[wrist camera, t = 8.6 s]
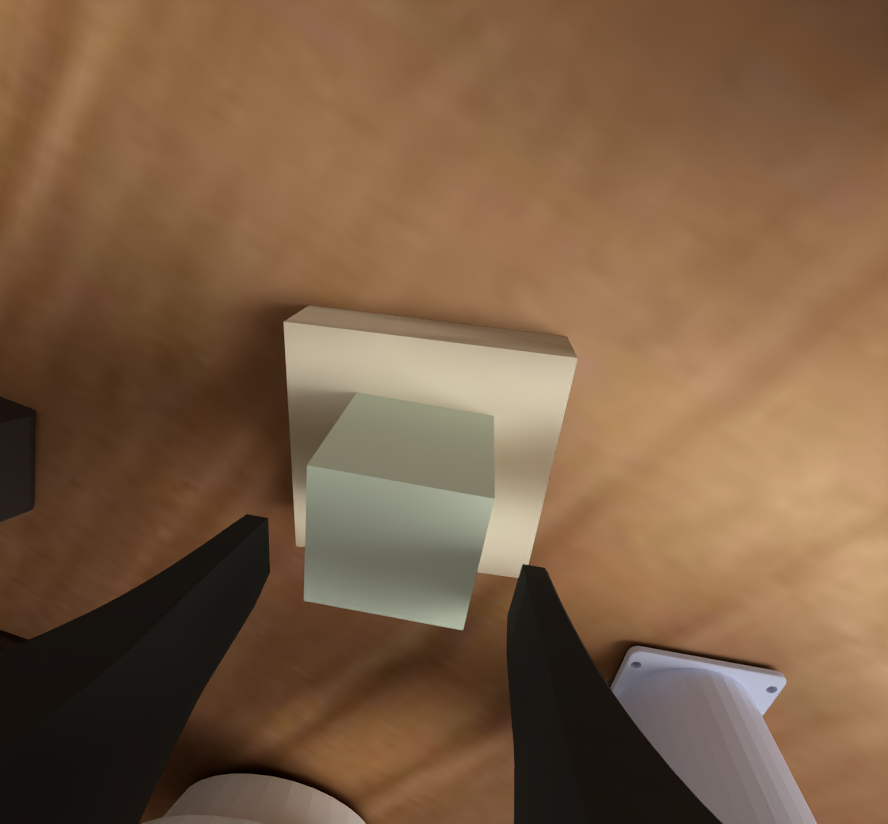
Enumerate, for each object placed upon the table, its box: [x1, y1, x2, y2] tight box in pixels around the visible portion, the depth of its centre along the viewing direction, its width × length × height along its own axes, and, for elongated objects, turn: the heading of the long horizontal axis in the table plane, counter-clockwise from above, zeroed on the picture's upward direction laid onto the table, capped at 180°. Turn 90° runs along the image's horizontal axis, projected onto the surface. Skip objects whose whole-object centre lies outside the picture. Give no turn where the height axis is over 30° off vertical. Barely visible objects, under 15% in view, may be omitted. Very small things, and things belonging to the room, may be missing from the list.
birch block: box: [284, 305, 578, 578], centre depth 19 cm, size 10×10×3 cm
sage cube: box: [304, 392, 495, 630], centre depth 15 cm, size 5×5×5 cm
